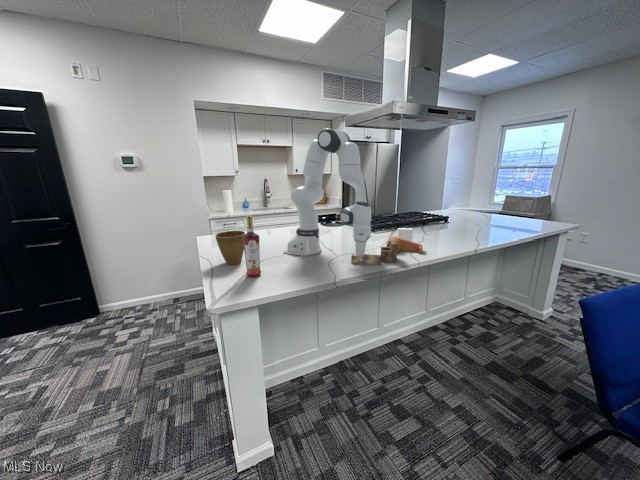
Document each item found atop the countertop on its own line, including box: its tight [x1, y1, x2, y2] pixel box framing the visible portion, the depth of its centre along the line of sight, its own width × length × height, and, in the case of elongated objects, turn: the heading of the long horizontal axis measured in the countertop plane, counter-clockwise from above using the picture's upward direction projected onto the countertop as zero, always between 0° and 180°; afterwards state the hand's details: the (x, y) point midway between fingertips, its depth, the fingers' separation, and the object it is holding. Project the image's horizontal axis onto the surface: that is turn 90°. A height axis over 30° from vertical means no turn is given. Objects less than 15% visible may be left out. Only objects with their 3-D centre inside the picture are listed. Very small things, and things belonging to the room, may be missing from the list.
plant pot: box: [215, 230, 246, 266], centre depth 139 cm, size 15×15×16 cm
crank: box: [386, 236, 424, 254], centre depth 155 cm, size 20×8×8 cm, turn 73°
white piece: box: [396, 227, 414, 242], centre depth 162 cm, size 9×9×12 cm
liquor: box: [242, 215, 262, 278], centre depth 120 cm, size 7×7×28 cm
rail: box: [350, 253, 382, 266], centre depth 137 cm, size 15×4×4 cm, turn 77°
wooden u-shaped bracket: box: [380, 240, 398, 264], centre depth 140 cm, size 8×8×10 cm
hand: (361, 259), depth 138 cm, fingers closed on rail, 3 cm apart
